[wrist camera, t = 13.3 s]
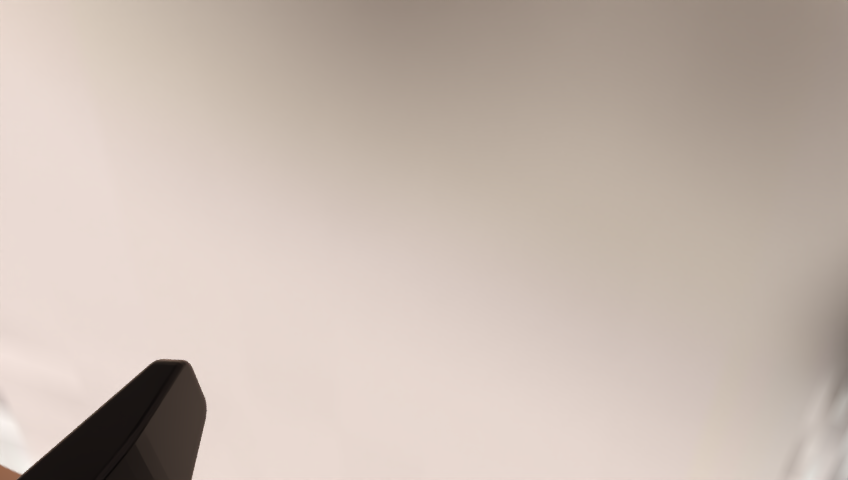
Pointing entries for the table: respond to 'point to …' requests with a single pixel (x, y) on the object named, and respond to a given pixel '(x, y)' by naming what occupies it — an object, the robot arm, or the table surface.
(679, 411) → the table surface
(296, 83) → the table surface
